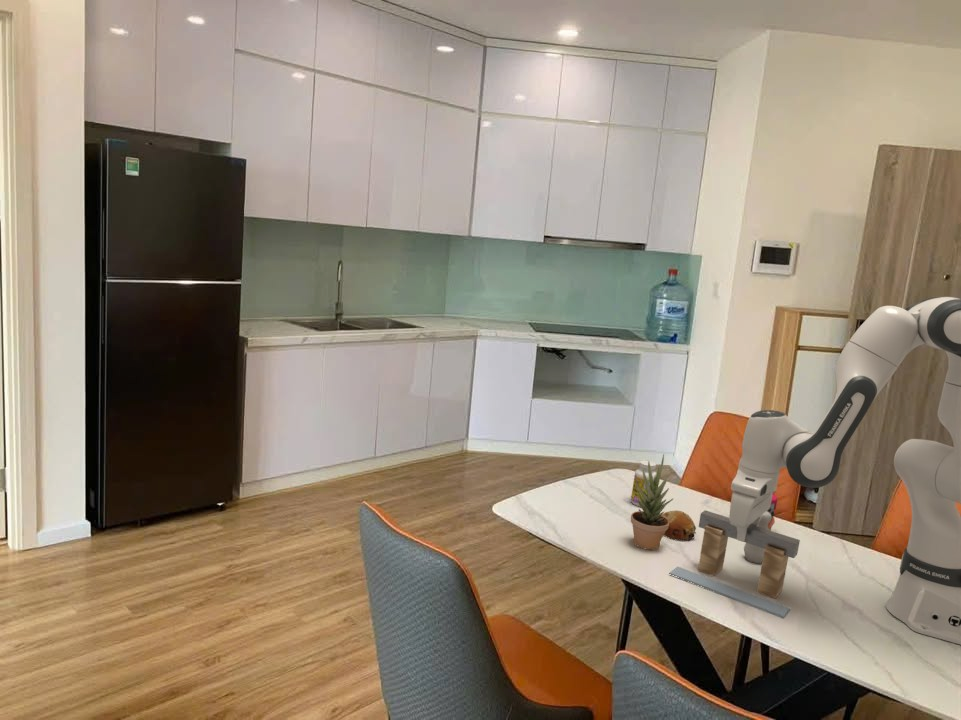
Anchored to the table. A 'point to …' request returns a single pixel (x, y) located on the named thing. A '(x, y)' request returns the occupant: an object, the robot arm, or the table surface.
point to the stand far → (712, 551)
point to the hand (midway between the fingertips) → (746, 535)
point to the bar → (751, 534)
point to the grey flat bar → (732, 592)
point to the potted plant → (650, 512)
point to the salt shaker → (756, 552)
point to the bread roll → (679, 525)
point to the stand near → (772, 572)
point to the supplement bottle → (641, 480)
